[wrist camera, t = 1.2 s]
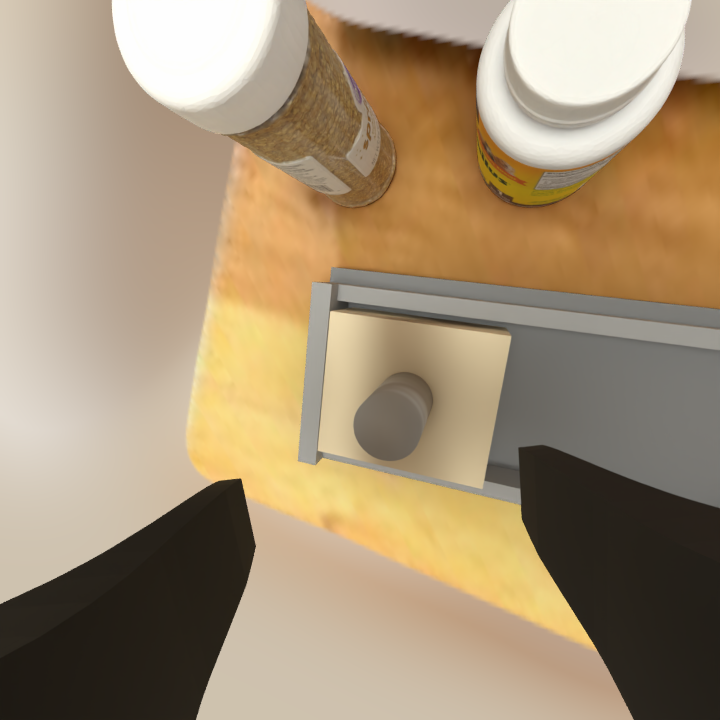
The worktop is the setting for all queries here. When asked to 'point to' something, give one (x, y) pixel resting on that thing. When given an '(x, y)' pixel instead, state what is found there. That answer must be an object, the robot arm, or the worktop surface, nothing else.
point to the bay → (560, 378)
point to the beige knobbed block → (412, 392)
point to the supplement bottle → (570, 89)
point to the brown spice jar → (261, 87)
